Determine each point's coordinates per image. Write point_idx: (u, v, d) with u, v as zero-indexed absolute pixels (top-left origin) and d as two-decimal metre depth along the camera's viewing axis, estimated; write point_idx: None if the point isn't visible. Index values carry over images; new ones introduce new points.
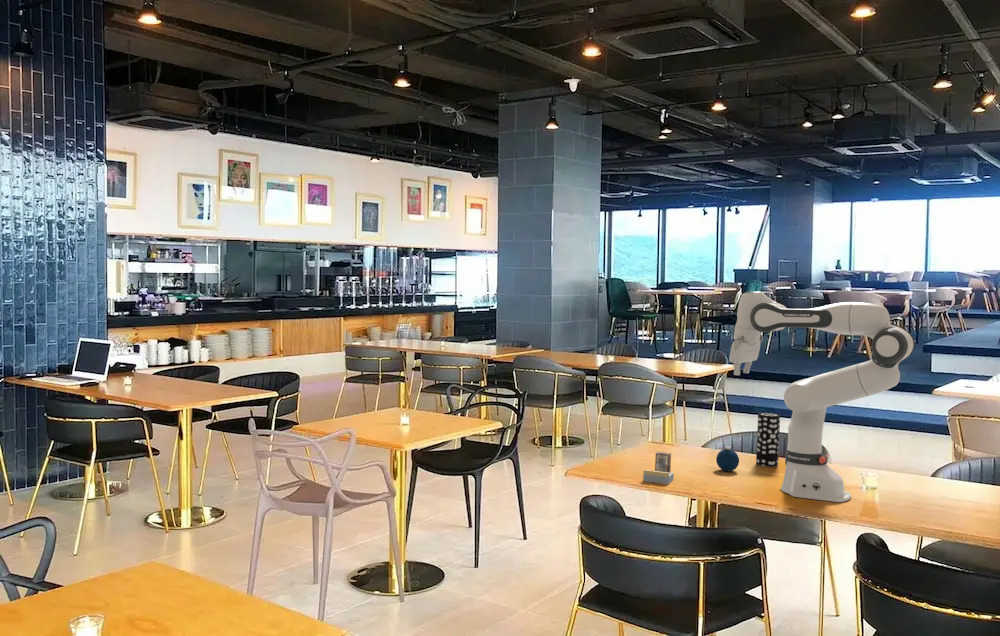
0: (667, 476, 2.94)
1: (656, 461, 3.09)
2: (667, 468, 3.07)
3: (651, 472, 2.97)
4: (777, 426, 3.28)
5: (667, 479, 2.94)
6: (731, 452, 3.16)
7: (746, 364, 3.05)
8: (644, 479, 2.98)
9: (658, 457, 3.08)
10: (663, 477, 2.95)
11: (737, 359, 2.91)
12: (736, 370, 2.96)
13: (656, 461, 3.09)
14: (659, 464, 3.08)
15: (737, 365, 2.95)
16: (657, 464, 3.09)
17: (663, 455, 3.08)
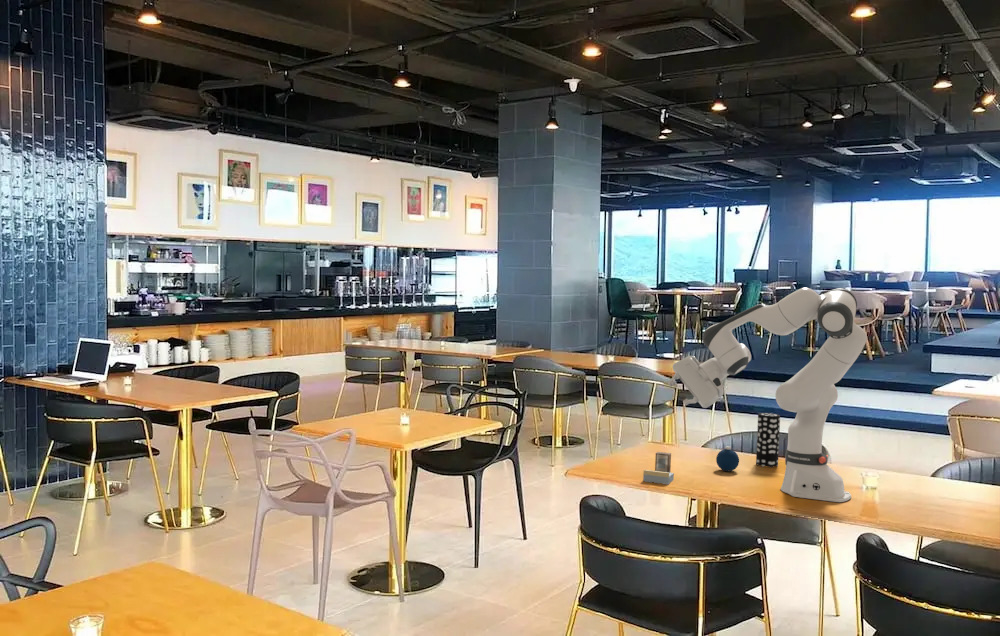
0: (667, 476, 2.94)
1: (656, 461, 3.09)
2: (667, 468, 3.07)
3: (651, 472, 2.97)
4: (777, 426, 3.28)
5: (667, 479, 2.94)
6: (731, 452, 3.16)
7: None
8: (644, 479, 2.98)
9: (658, 457, 3.08)
10: (663, 477, 2.95)
11: None
12: None
13: (655, 461, 3.09)
14: (659, 464, 3.08)
15: None
16: (657, 463, 3.09)
17: (663, 455, 3.08)
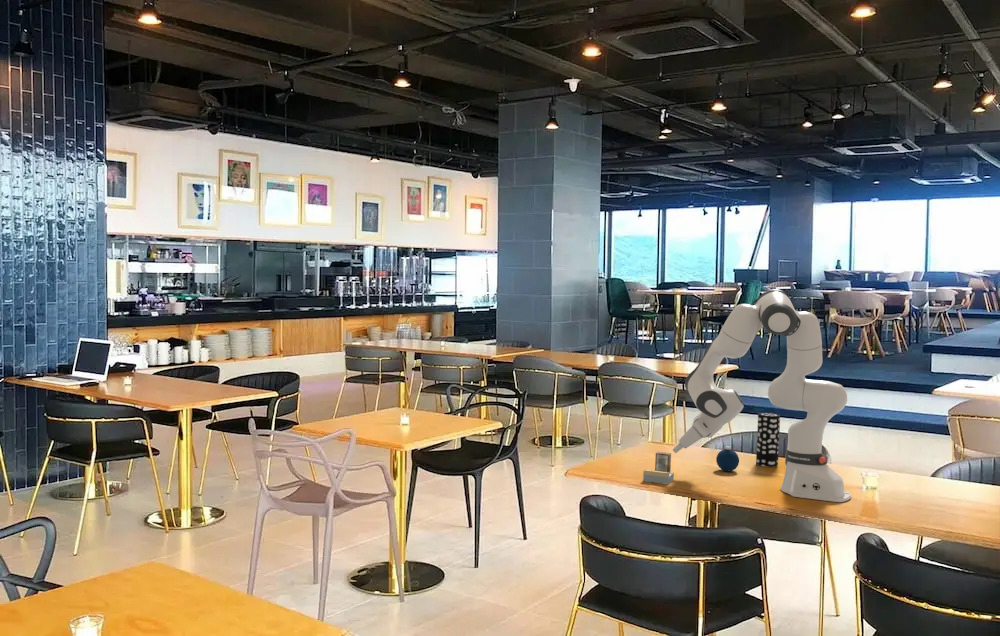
0: (667, 476, 2.94)
1: (656, 461, 3.09)
2: (667, 468, 3.07)
3: (651, 472, 2.97)
4: (777, 426, 3.28)
5: (667, 479, 2.94)
6: (731, 452, 3.16)
7: None
8: (644, 479, 2.98)
9: (658, 457, 3.08)
10: (663, 477, 2.95)
11: None
12: None
13: (656, 461, 3.09)
14: (659, 464, 3.08)
15: None
16: (657, 464, 3.09)
17: (663, 455, 3.08)
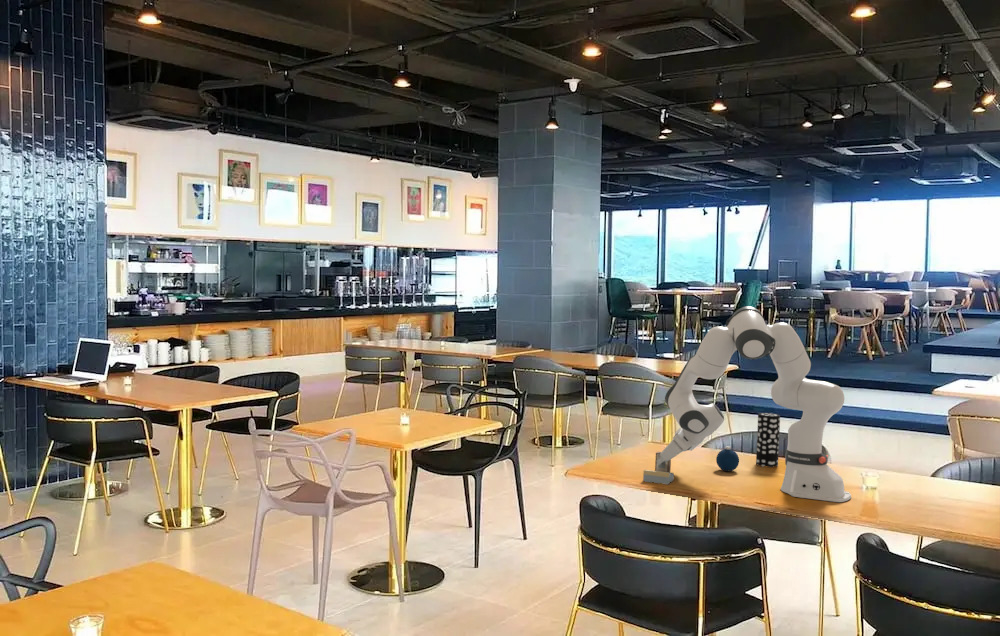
0: (667, 476, 2.94)
1: None
2: (667, 468, 3.07)
3: (651, 472, 2.97)
4: (777, 426, 3.28)
5: (667, 479, 2.94)
6: (731, 452, 3.16)
7: None
8: (644, 479, 2.98)
9: (658, 457, 3.09)
10: (663, 477, 2.95)
11: None
12: None
13: None
14: None
15: None
16: (657, 463, 3.09)
17: None
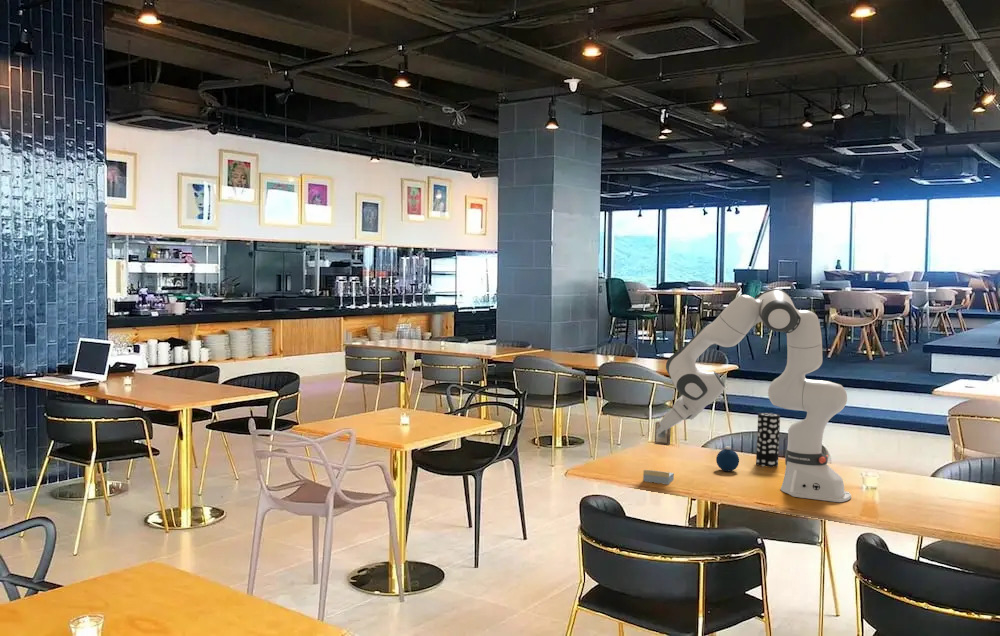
0: (667, 476, 2.94)
1: None
2: (667, 437, 3.04)
3: (651, 472, 2.97)
4: (777, 426, 3.28)
5: (667, 479, 2.94)
6: (731, 452, 3.16)
7: None
8: (644, 479, 2.98)
9: (658, 426, 3.05)
10: (663, 477, 2.95)
11: None
12: None
13: (655, 430, 3.05)
14: None
15: None
16: (656, 433, 3.05)
17: None
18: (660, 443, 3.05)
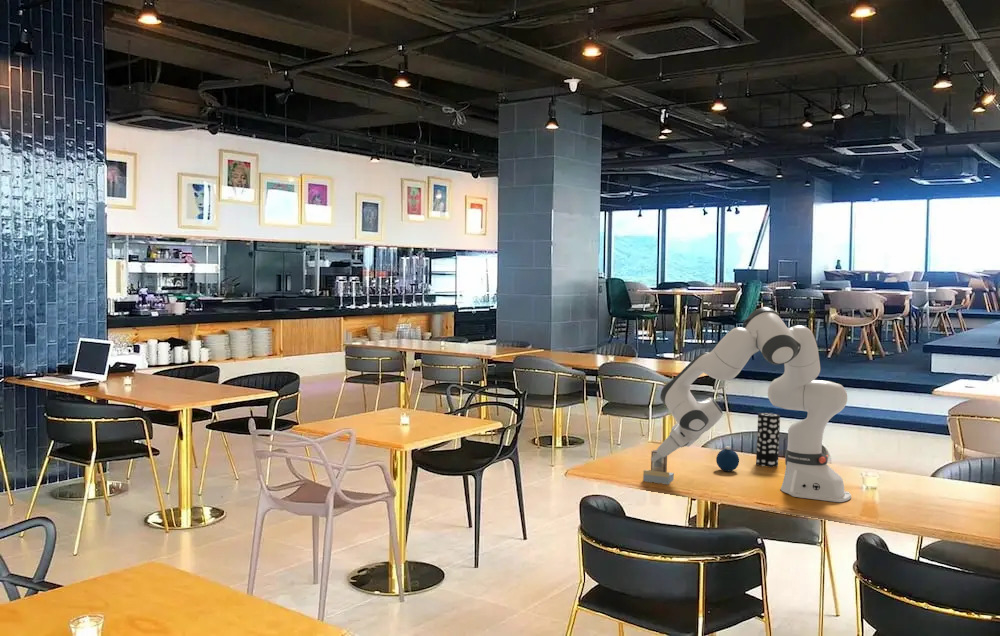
0: (667, 476, 2.94)
1: None
2: (663, 467, 2.98)
3: (651, 472, 2.97)
4: (777, 426, 3.28)
5: (667, 479, 2.94)
6: (731, 452, 3.16)
7: None
8: (644, 479, 2.98)
9: None
10: (663, 477, 2.95)
11: None
12: None
13: (651, 460, 2.99)
14: (655, 463, 2.99)
15: None
16: (653, 462, 2.99)
17: None
18: None
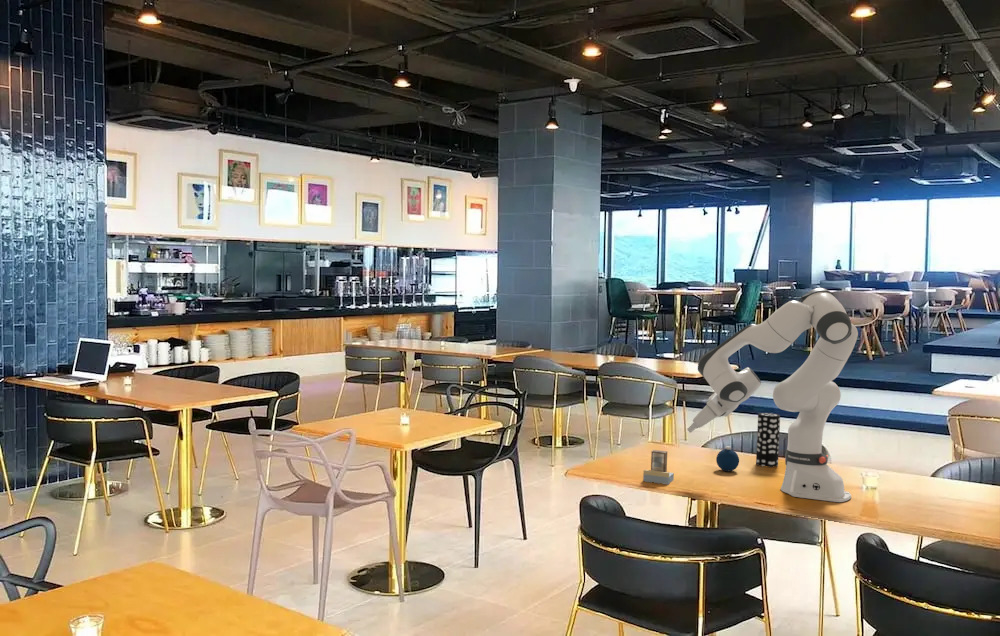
0: (667, 476, 2.94)
1: (652, 459, 2.99)
2: (663, 467, 2.98)
3: (651, 472, 2.97)
4: (777, 426, 3.28)
5: (667, 479, 2.94)
6: (731, 452, 3.16)
7: None
8: (644, 479, 2.98)
9: (654, 455, 2.99)
10: (663, 477, 2.95)
11: None
12: None
13: (651, 460, 2.99)
14: (655, 463, 2.99)
15: None
16: (653, 462, 2.99)
17: (659, 453, 2.98)
18: None
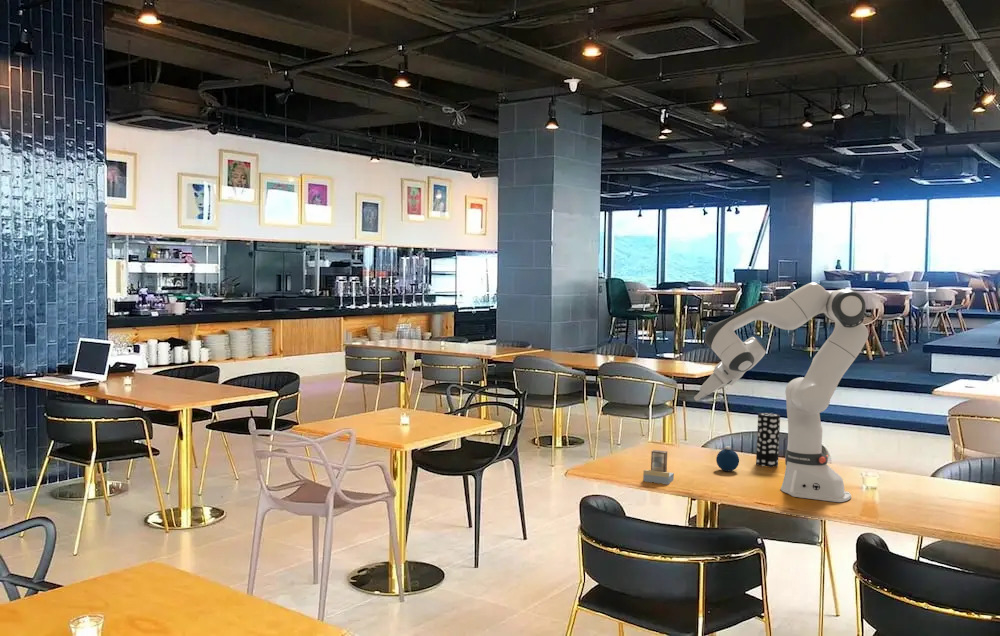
0: (667, 476, 2.94)
1: (652, 459, 2.99)
2: (663, 467, 2.98)
3: (651, 472, 2.97)
4: (777, 426, 3.28)
5: (667, 479, 2.94)
6: (731, 452, 3.16)
7: None
8: (644, 479, 2.98)
9: (654, 455, 2.99)
10: (663, 477, 2.95)
11: None
12: None
13: (651, 460, 2.99)
14: (655, 463, 2.99)
15: None
16: (653, 462, 2.99)
17: (659, 453, 2.98)
18: None
